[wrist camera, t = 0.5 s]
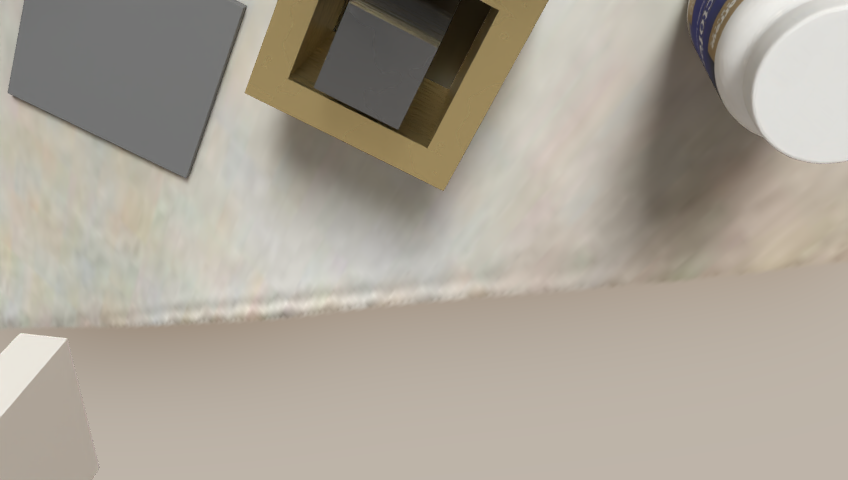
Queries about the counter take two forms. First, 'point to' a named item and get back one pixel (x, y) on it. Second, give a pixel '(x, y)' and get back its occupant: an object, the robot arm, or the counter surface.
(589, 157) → the counter surface
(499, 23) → the collar
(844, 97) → the pill bottle
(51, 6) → the mat
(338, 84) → the post
